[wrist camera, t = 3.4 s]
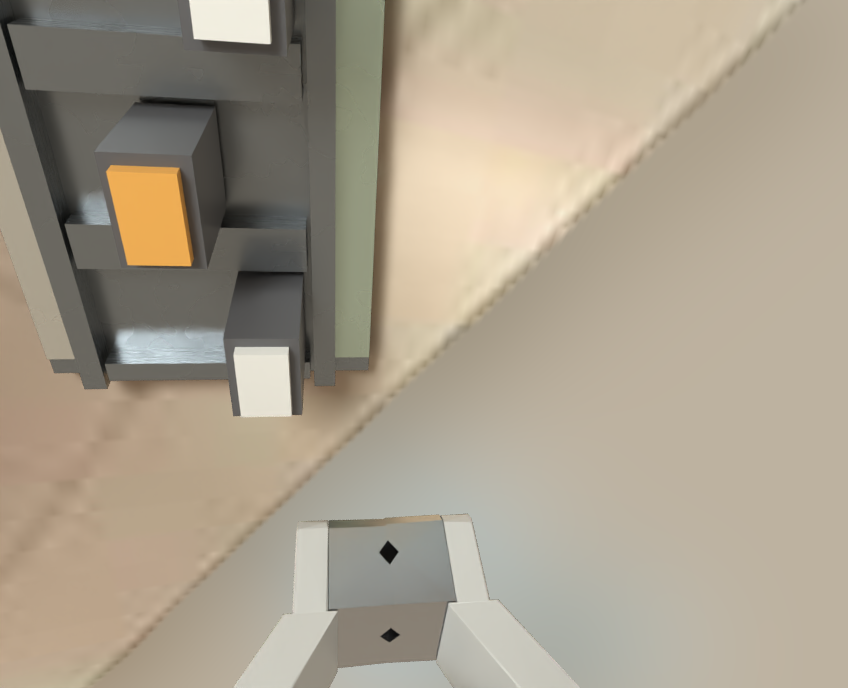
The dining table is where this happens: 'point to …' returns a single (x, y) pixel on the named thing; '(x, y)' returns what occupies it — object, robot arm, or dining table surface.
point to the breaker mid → (163, 185)
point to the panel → (242, 172)
